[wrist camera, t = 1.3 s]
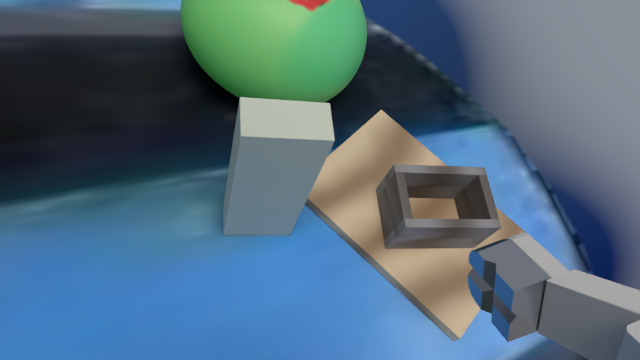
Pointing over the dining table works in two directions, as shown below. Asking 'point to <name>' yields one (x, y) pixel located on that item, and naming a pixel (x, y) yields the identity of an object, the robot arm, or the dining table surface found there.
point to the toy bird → (277, 45)
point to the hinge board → (364, 229)
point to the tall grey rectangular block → (274, 164)
